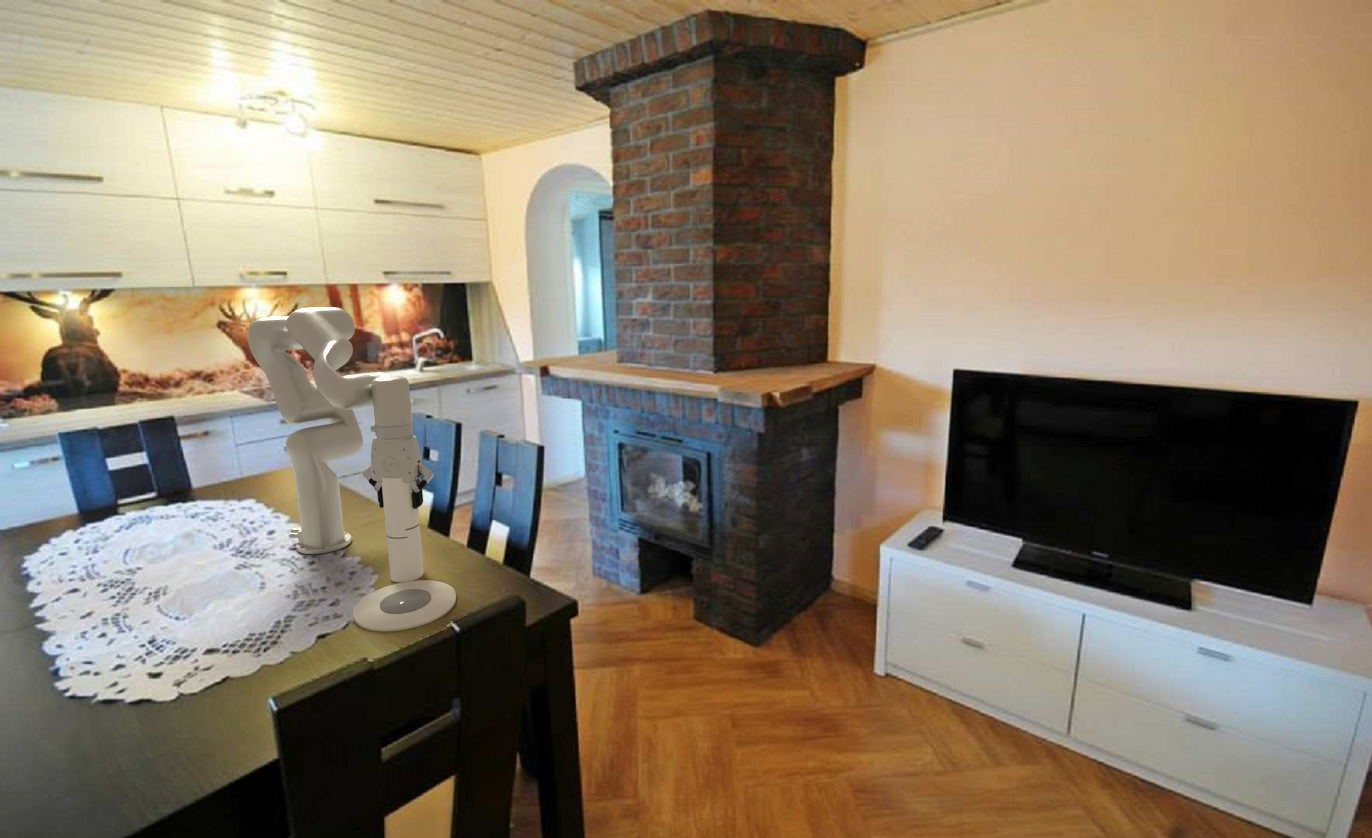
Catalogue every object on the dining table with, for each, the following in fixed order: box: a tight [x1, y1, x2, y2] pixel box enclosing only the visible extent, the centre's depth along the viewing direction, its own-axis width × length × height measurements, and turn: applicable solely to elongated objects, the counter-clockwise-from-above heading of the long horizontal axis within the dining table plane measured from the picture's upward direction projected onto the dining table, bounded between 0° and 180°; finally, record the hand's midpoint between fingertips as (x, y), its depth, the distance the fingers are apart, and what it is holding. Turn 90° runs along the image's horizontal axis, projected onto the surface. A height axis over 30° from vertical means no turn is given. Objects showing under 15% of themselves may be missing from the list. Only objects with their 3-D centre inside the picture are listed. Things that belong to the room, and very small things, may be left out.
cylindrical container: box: [382, 477, 425, 583], centre depth 144 cm, size 7×7×25 cm
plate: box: [352, 579, 457, 633], centre depth 132 cm, size 20×20×1 cm
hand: (401, 505), depth 143 cm, fingers closed on cylindrical container, 7 cm apart
